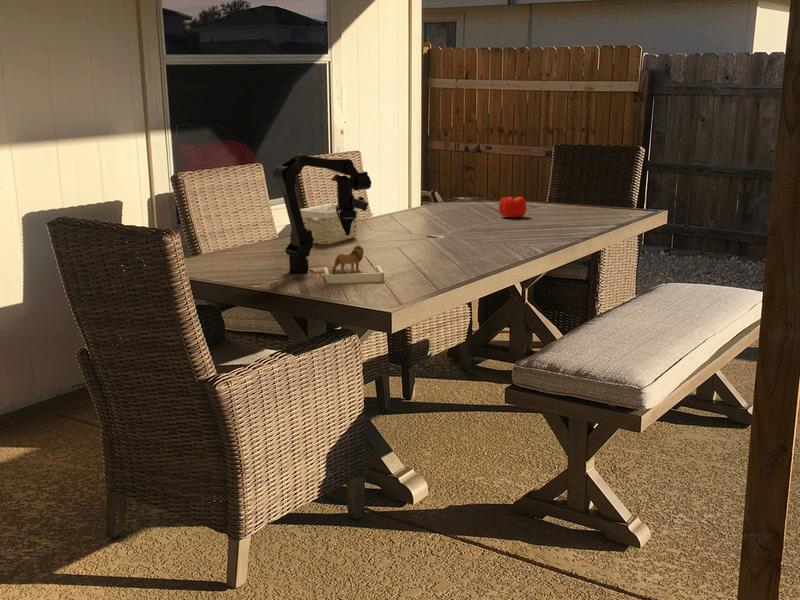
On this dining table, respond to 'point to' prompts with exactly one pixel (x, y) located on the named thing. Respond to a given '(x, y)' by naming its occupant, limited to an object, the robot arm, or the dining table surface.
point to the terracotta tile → (318, 269)
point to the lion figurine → (349, 259)
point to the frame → (354, 277)
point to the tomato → (512, 206)
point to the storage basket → (326, 224)
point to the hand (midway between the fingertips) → (346, 233)
